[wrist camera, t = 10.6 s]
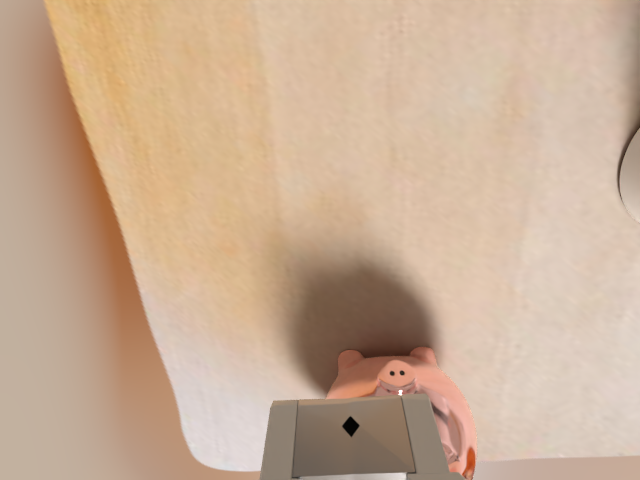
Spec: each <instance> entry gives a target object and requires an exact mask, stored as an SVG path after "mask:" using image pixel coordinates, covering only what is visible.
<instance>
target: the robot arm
mask: <svg viewBox="0 0 640 480" xmlns="http://www.w3.org/2000/svg"><path fill="white" fill-rule="evenodd" d="M620 193H621V198H622V201H623V203H624V205H625V207H626V209H627V211H628V212H629V214H630V215H631V216H632V217H633V218H634V219H635V220H636V221H637V222H638V223H640V128H639V129H638V131H637V132H636V134H635V135H634V137H633V139H632V141H631V142H630V144H629V146H628V149H627V151H626V153H625V156H624V159H623V162H622V166H621V171H620ZM260 480H466V479H465V478H464V477H463V476H462V475H461V474H460V473H459V472H450V470H449V467H448V463H447V459H446V456H445V452H444V449H443V445H442V442H441V438H440V434H439V431H438V427H437V424H436V420H435V416H434V413H433V409H432V406H431V402H430V398H429V397H428V395H427V394H426V393H425V394H407V395H400V396H399V395H387V396H370V397H354V398H347V399H304V400H281V401H273V403H272V405H271V408H270V414H269V421H268V427H267V434H266V441H265V447H264V454H263V461H262V467H261V474H260Z"/></svg>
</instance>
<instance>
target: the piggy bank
mask: <svg viewBox="0 0 640 480" xmlns="http://www.w3.org/2000/svg"><path fill="white" fill-rule="evenodd" d="M425 393H426V394H427V395H428V397H429V398H430V402H431V406H432V409H433V413H434V416H435V420H436V424H437V427H438V431H439V434H440V438H441V442H442V445H443V449H444V452H445V456H446V459H447V463H448V467H449V470H450V472H459V473H460V474H461V475H462V476H463V477H464V478H465V479H466V480H472V479H473V475H474V471H475V466H476V460H477V434H476V428H475V423H474V419H473V416H472V413H471V410H470V407H469V405H468V403H467V401H466V399H465V397H464V395H463V394H462V392H461V391H460V389H459V388H458V387H457V385H456V384H455V383H454V382H453V381H452V380H451V379H450V378H449V377H448V376H447V375H446V374H445V373H444V372H443V371H442V370H441V369H439V368H438V367H437V363H436V358H435V354H434V351H433V350H432V349H430V348H428V347H417V348H415V349H413V350H412V351H411V353H410V355H409V356H381V357H370V358H364V357H363V356H362V354H361V353H360V352H358V351H356V350H346V351H343V352H342V353H341V354H340V355H339V357H338V376H337V378H336V380H335V381H334V383H333V385H332V386H331V388H330V390H329V392H328V394H327V396H326V398H325V399H347V398H354V397H370V396H387V395H399V396H400V395H407V394H425Z"/></svg>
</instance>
